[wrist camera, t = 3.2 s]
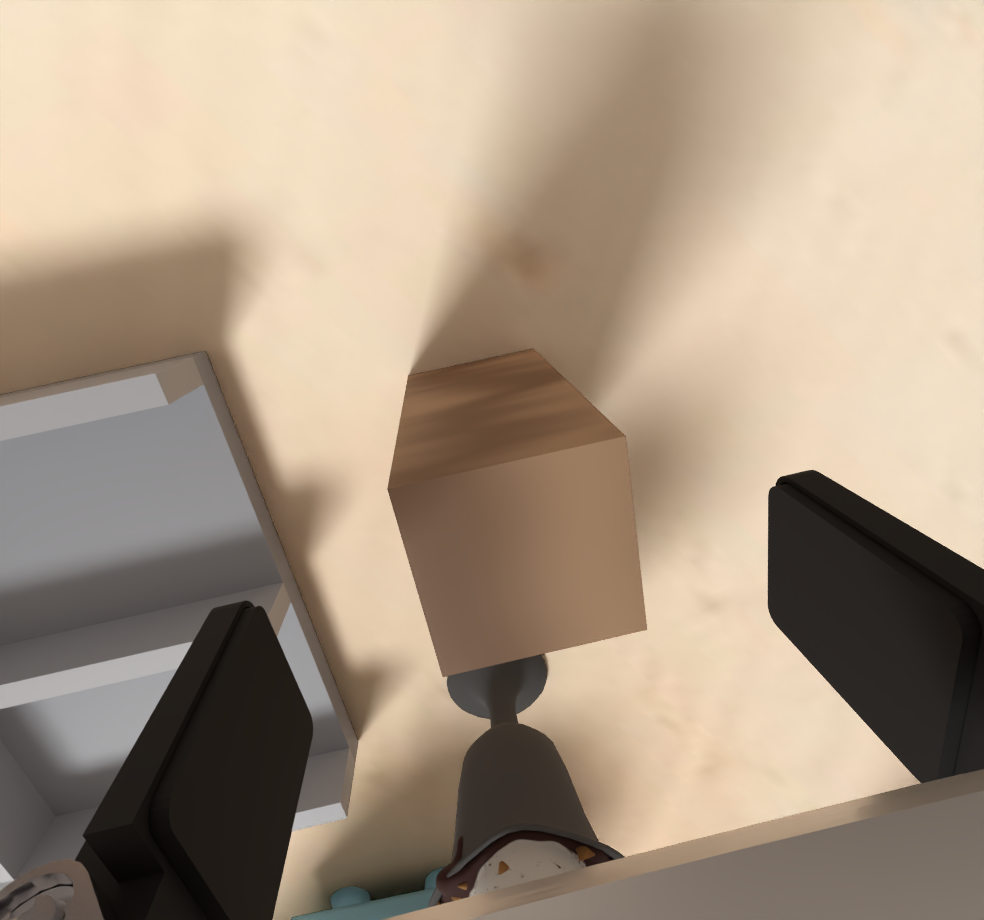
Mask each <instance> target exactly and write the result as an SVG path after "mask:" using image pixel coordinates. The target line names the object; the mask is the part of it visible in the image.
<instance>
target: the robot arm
mask: <svg viewBox="0 0 984 920" xmlns="http://www.w3.org/2000/svg"><path fill="white" fill-rule="evenodd" d="M768 609H769V613H770V615H771V618H772V619H773V621H774V623H775V624H776V625H777V627H778V628H779V629H780V630H781V631H782V632H783V633H784V634H785V635H786V636H787V638H788V639H789V640H790V641H791V642H792V643H793V644H794V645H795V646H796V647H797V648H798V650H799V651H800V652H801V653H802V654H803V655H804V656H805V657H806V658H807V659H808V661H809V662H810V663H811V664H812V665H813V666H814V667H815V668H816V669H817V670H818V671H819V673H820V674H821V675H822V676H823V677H824V678H825V679H826V680H827V681H828V682H829V683H830V685H831V686H832V687H833V688H834V689H835V690H836V691H837V692H838V693H839V694H840V696H841V697H842V698H843V699H844V700H845V701H846V702H847V703H848V704H849V705H850V706H851V708H852V709H853V710H854V711H855V712H856V713H857V714H858V715H859V716H860V717H861V719H862V720H863V721H864V722H865V723H866V724H867V725H868V726H869V727H870V728H871V729H872V731H873V732H874V733H875V734H876V735H877V736H878V737H879V738H880V739H881V740H882V741H883V743H884V744H885V745H886V746H887V747H888V748H889V749H890V750H891V751H892V752H893V754H894V755H895V756H896V757H897V758H898V759H899V760H900V761H901V762H902V763H903V764H904V766H905V767H906V768H907V769H908V770H909V771H910V772H911V773H912V774H913V775H914V776H915V777H916V778H917V779H918V780H919V781H920V782H921V784H917V785H913V786H909V787H905V788H901V789H897V790H893V791H889V792H885V793H881V794H877V795H873V796H868V797H864V798H860V799H856V800H852V801H848V802H844V803H840V804H836V805H832V806H828V807H824V808H820V809H816V810H812V811H808V812H804V813H800V814H795V815H791V816H787V817H783V818H779V819H775V820H771V821H767V822H763V823H759V824H755V825H751V826H747V827H743V828H739V829H735V830H731V831H727V832H723V833H719V834H715V835H711V836H707V837H703V838H699V839H695V840H691V841H687V842H683V843H679V844H675V845H671V846H667V847H664V848H660V849H656V850H652V851H648V852H644V853H640V854H636V855H632V856H628V857H624V858H620V859H616V860H612V861H608V862H604V863H600V864H596V865H592V866H588V867H585V868H581V869H577V870H573V871H569V872H565V873H561V874H557V875H553V876H549V877H545V878H541V879H537V880H533V881H529V882H525V883H522V884H518V885H514V886H510V887H506V888H502V889H498V890H494V891H491V892H487V893H483V894H479V895H475V896H471V897H467V898H464V899H460V900H456V901H452V902H448V903H444V904H441V905H437V906H433V907H429V908H425V909H421V910H417V911H414V912H410V913H406V914H402V915H398V916H394V917H390V918H387V919H383V920H984V569H982V568H980V567H979V566H977V565H975V564H974V563H972V562H970V561H969V560H967V559H965V558H963V557H962V556H960V555H958V554H957V553H955V552H953V551H952V550H950V549H948V548H947V547H945V546H943V545H941V544H940V543H938V542H936V541H935V540H933V539H931V538H930V537H928V536H926V535H924V534H923V533H921V532H919V531H918V530H916V529H914V528H913V527H911V526H909V525H908V524H906V523H904V522H902V521H901V520H899V519H897V518H896V517H894V516H892V515H891V514H889V513H887V512H885V511H884V510H882V509H880V508H879V507H877V506H875V505H874V504H872V503H870V502H869V501H867V500H865V499H863V498H862V497H860V496H858V495H857V494H855V493H853V492H852V491H850V490H848V489H846V488H845V487H843V486H841V485H840V484H838V483H836V482H835V481H833V480H831V479H830V478H828V477H826V476H824V475H823V474H821V473H819V472H817V471H815V470H808V471H804V472H799V473H795V474H791V475H786V476H782V477H780V478H779V479H778V480H777V482H776V486H774V487H772V488H771V489H770V491H769V496H768ZM312 737H313V721H312V716H311V713H310V711H309V709H308V707H307V704H306V702H305V700H304V697H303V695H302V693H301V691H300V688H299V686H298V684H297V682H296V679H295V677H294V675H293V672H292V670H291V668H290V666H289V663H288V661H287V659H286V657H285V654H284V652H283V650H282V647H281V645H280V643H279V641H278V638H277V636H276V634H275V632H274V629H273V627H272V625H271V622H270V620H269V618H268V616H267V613H266V611H265V610H264V608H263V607H262V606H256V607H254V605H253V604H252V603H251V602H250V601H247V600H245V601H241V602H237V603H232V604H228V605H224V606H219V607H216V608H213V609H212V610H211V611H210V613H209V614H208V616H207V618H206V620H205V621H204V623H203V625H202V627H201V628H200V630H199V632H198V634H197V635H196V637H195V639H194V641H193V642H192V644H191V646H190V648H189V649H188V651H187V653H186V655H185V656H184V658H183V660H182V662H181V664H180V665H179V667H178V669H177V671H176V672H175V674H174V676H173V678H172V679H171V681H170V683H169V685H168V686H167V688H166V690H165V692H164V693H163V695H162V697H161V699H160V700H159V702H158V704H157V706H156V707H155V709H154V711H153V713H152V714H151V716H150V718H149V720H148V721H147V723H146V725H145V727H144V728H143V730H142V732H141V734H140V735H139V737H138V739H137V741H136V742H135V744H134V746H133V748H132V749H131V751H130V753H129V755H128V756H127V758H126V760H125V762H124V763H123V765H122V767H121V769H120V770H119V772H118V774H117V776H116V777H115V779H114V781H113V783H112V784H111V786H110V788H109V790H108V791H107V793H106V795H105V797H104V798H103V800H102V802H101V804H100V805H99V807H98V809H97V811H96V812H95V814H94V816H93V818H92V819H91V821H90V823H89V825H88V826H87V828H86V830H85V832H84V833H83V835H82V836H83V837H84V839H85V840H86V841H85V842H84V844H83V846H82V848H81V850H80V851H79V853H78V855H77V857H76V859H75V860H70V859H65V860H59V861H53V862H49V863H47V864H44V865H42V866H40V867H37V868H35V869H33V870H30V871H29V872H27V873H25V874H24V875H22V876H21V877H19V878H18V879H16V880H14V881H13V882H11V883H10V884H8V885H7V886H5V887H4V888H3V889H2V890H1V891H0V920H272V918H273V914H274V909H275V905H276V900H277V896H278V891H279V887H280V882H281V878H282V873H283V869H284V864H285V859H286V855H287V850H288V846H289V841H290V837H291V832H292V828H293V823H294V819H295V814H296V810H297V805H298V801H299V796H300V792H301V787H302V783H303V778H304V774H305V769H306V765H307V760H308V756H309V751H310V747H311V742H312Z"/></svg>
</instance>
